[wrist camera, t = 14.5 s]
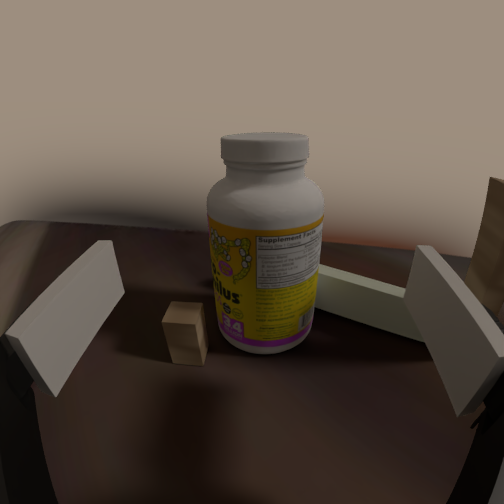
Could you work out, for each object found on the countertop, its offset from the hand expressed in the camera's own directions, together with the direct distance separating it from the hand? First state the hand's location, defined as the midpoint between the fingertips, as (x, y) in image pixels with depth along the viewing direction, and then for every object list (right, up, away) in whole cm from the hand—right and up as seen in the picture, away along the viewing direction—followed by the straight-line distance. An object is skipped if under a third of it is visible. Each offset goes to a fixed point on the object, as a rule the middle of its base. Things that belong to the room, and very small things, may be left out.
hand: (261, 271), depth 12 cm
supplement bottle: (+1, -5, +9) cm, 10 cm away
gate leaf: (+7, -4, +9) cm, 12 cm away
